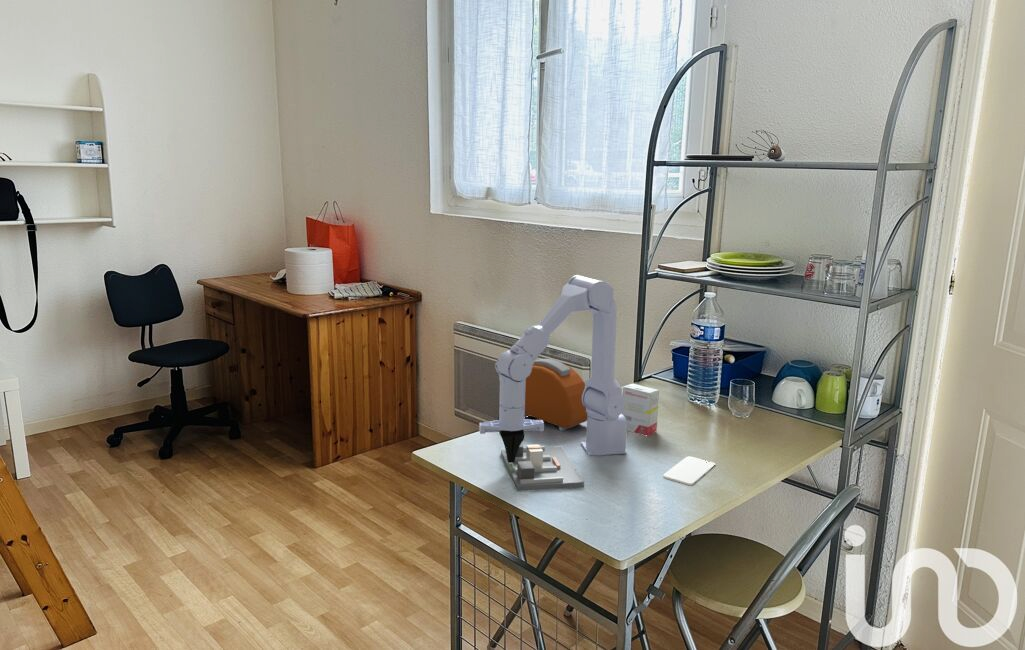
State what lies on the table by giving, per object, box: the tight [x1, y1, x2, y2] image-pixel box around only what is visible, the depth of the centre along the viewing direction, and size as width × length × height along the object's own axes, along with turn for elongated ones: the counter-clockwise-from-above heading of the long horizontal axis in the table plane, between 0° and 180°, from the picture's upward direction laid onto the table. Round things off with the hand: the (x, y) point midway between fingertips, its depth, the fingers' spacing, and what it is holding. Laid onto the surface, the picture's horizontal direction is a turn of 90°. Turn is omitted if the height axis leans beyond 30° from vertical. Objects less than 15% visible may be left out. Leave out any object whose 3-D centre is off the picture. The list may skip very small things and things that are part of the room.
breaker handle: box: [525, 444, 543, 467], centre depth 174 cm, size 3×4×4 cm
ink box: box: [621, 383, 660, 437], centre depth 199 cm, size 9×5×12 cm, turn 51°
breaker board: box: [500, 443, 585, 492], centre depth 174 cm, size 15×20×4 cm
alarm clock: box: [525, 358, 587, 431], centre depth 205 cm, size 23×9×17 cm, turn 46°
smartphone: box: [662, 455, 716, 486], centre depth 177 cm, size 7×1×15 cm
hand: (510, 460), depth 173 cm, fingers closed
